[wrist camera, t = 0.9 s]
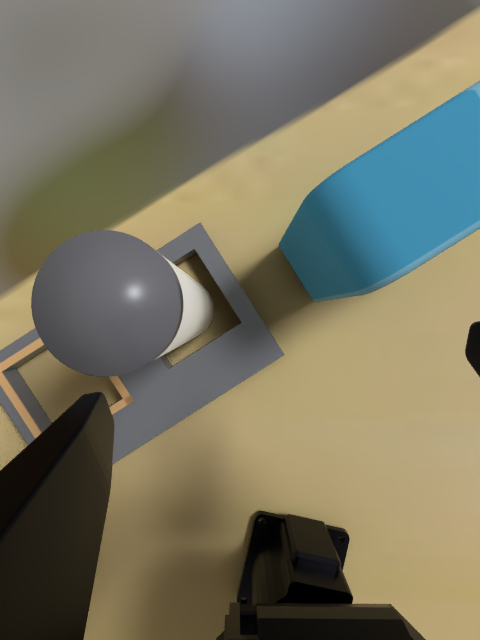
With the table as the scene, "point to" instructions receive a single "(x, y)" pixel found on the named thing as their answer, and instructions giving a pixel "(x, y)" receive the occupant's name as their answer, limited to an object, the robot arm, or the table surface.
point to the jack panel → (158, 365)
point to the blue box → (391, 205)
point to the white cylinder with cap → (115, 304)
